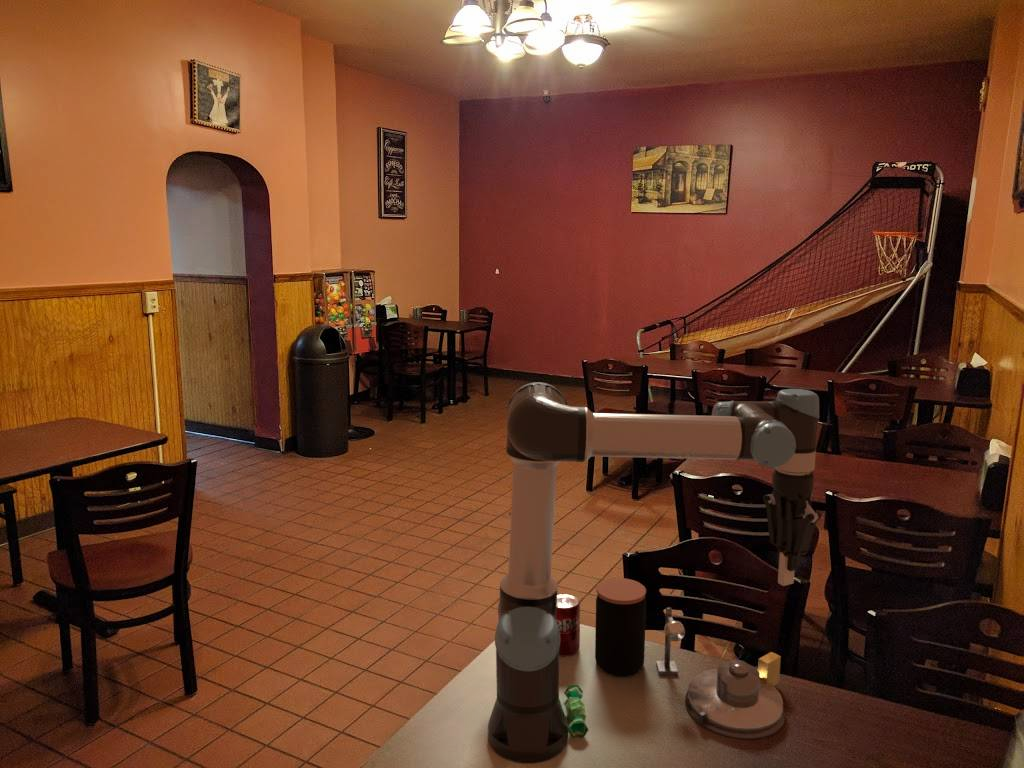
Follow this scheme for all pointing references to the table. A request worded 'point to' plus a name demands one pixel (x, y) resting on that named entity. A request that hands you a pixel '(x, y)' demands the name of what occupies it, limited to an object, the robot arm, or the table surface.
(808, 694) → the table surface
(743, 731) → the turntable
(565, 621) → the soda can
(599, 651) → the coffee jar
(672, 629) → the dial stand
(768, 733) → the turntable base
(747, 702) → the cover
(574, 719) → the candy
